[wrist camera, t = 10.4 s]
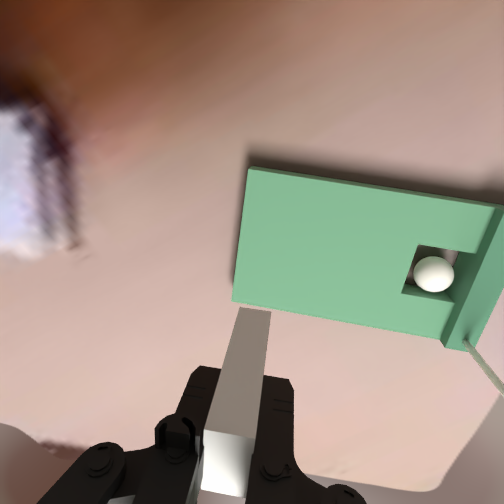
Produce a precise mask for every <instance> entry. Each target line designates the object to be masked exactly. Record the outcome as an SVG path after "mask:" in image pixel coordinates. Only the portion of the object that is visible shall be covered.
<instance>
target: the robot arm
mask: <svg viewBox="0 0 504 504" xmlns="http://www.w3.org/2000/svg"><path fill="white" fill-rule="evenodd" d="M270 318H271V312H270V311H263V310H256V309H249V308H243V307H240V308H239V312H238V315H237V318H236V322H235V325H234V329H233V332H232V335H231V339H230V342H229V346H228V349H227V352H226V356H225V359H224V363H223V366H222V369H218V368H212V367H206V366H199V367H198V368H197V369H196V370H195V371H194V372H193V373H192V374H191V375H190V378H189V380H188V383H187V386H186V388H185V390H184V393H183V396H182V397H181V400H180V402H179V405H178V407H177V410H176V412H175V413H174V414H171V415H168V416H166V417H165V418H163V419H162V420H161V421H159V423H158V424H157V426H156V427H155V445H153V446H151V447H149V448H145V449H141V450H134V451H127V452H124V451H123V448H121V447H120V446H119V445H118V444H116V443H111V442H104V443H99V444H97V445H94V446H92V447H90V448H89V449H88V450H86V451H85V452H84V453H83V454H82V455H81V456H80V457H79V458H78V459H77V460H76V461H75V462H74V463H73V464H72V466H71V467H70V468H69V469H68V470H67V471H66V472H65V473H64V474H63V475H62V476H61V477H60V479H59V480H58V481H57V482H56V483H55V484H54V485H53V486H52V487H51V488H50V489H49V491H48V492H47V493H46V494H45V495H44V496H43V497H42V498H41V499H40V500H39V501H38V503H37V504H197V497H198V494H199V490H200V486H201V489H202V490H207V491H212V492H218V493H222V494H227V495H233V496H238V497H243V498H246V501H245V504H366V502H365V500H364V498H363V497H362V496H361V495H360V494H359V493H358V492H357V491H356V490H354V489H352V488H351V487H349V486H347V485H341V484H335V485H331V486H329V487H328V488H325V487H323V486H322V485H320V484H318V483H316V482H314V481H313V480H311V479H310V478H308V477H307V476H306V475H305V474H304V473H303V472H302V471H301V470H300V469H299V467H298V465H297V464H296V461H295V458H294V390H293V387H292V385H291V383H290V381H289V379H284V378H278V377H272V376H266V375H263V374H264V366H265V358H266V350H267V342H268V334H269V326H270Z"/></svg>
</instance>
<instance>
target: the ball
mask: <svg viewBox="0 0 504 504" xmlns="http://www.w3.org/2000/svg"><path fill="white" fill-rule="evenodd" d="M413 276H414V280H415V282H416V283H417V285H418V286H419V287H421V288H422V289H424V290H426V291H430V292H439V291H443V290H445V289H446V288H448V287H449V286H450V285H451V283H452V282H453V279H454V270H453V268H452V266H451V265H450V263H449V262H448V261H446V260H445V259H443V258H440V257H436V256H430V257H426V258H423V259H422V260H420V261H419V262H418V263H417V264H416V266H415V268H414V271H413Z"/></svg>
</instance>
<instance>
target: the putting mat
mask: <svg viewBox="0 0 504 504" xmlns="http://www.w3.org/2000/svg"><path fill="white" fill-rule="evenodd" d="M418 244H420V245H426V246H432V247H438V248H444V249H450V250H456V251H460V252H459V254H458V257H457V259H456V262H455V264H454V267H453V270H454V279H453V282H452V283H451V285H450V286H449V287H448V288H446V289H445V290H444V291H439V292H430V291H426V290H424V289H422V288H421V287H419V286H415V285H409V284H404V283H405V280H406V277H407V274H408V271H409V269H410V266H411V263H412V260H413V257H414V254H415V251H416V249H417V246H418ZM503 288H504V205H501V204H494V203H488V202H481V201H475V200H468V199H462V198H456V197H449V196H443V195H436V194H430V193H424V192H417V191H411V190H404V189H398V188H391V187H385V186H379V185H372V184H366V183H359V182H353V181H346V180H340V179H334V178H327V177H321V176H314V175H308V174H302V173H295V172H289V171H282V170H276V169H269V168H263V167H257V166H251V167H250V168H249V169H248V175H247V183H246V191H245V199H244V206H243V214H242V222H241V230H240V237H239V245H238V253H237V261H236V269H235V276H234V284H233V292H232V300H231V301H233V302H238V303H244V304H249V305H254V306H260V307H265V308H271V309H276V310H281V311H287V312H292V313H298V314H303V315H309V316H314V317H319V318H325V319H330V320H336V321H341V322H346V323H352V324H357V325H363V326H368V327H373V328H379V329H384V330H390V331H395V332H401V333H406V334H411V335H417V336H422V337H428V338H433V339H438V340H440V341H441V342H442V344H443V345H444V347H445V348H449V349H454V350H460V351H465V352H469V353H470V354H471V355H472V357H473V358H474V359H475V361H476V362H477V363H478V365H479V366H480V367H481V368H482V370H483V371H484V372H485V374H486V375H487V376H488V378H489V379H490V380H491V381H492V383H493V384H494V385H495V387H496V388H497V389H498V391H499V392H500V393H501V395H502V396H503V397H504V384H503V383H502V382H501V380H500V379H499V378H498V377H497V375H496V374H495V373H494V372H493V370H492V369H491V368H490V367H489V365H488V364H487V363H486V362H485V360H484V359H483V358H482V357H481V356H480V354H479V353H478V352H477V351H476V349H475V346H476V344H477V342H478V340H479V338H480V336H481V334H482V332H483V329H484V327H485V325H486V323H487V321H488V319H489V317H490V315H491V313H492V311H493V309H494V307H495V304H496V302H497V300H498V298H499V296H500V294H501V292H502V290H503Z"/></svg>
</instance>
